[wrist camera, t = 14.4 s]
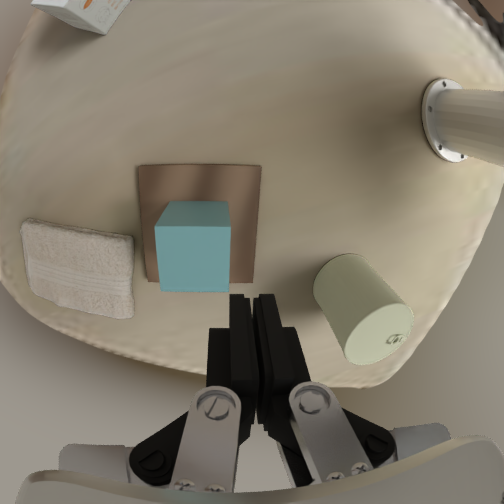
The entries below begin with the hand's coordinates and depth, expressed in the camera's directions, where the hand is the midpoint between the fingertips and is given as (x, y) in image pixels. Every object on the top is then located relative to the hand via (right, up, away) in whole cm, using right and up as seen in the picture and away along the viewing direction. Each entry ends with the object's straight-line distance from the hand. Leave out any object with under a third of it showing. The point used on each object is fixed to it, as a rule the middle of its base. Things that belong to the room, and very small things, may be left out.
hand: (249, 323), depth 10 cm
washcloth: (-23, +1, +21) cm, 31 cm away
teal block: (-6, +5, +19) cm, 21 cm away
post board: (-6, +6, +20) cm, 22 cm away
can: (+13, -1, +26) cm, 29 cm away
